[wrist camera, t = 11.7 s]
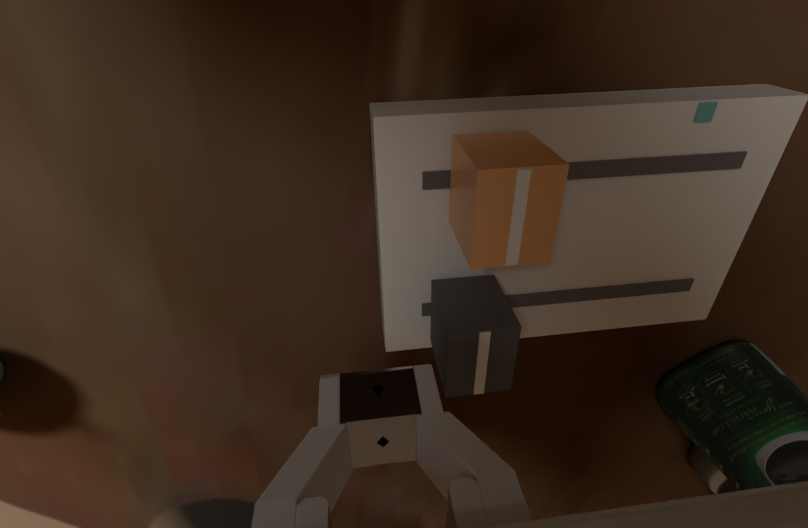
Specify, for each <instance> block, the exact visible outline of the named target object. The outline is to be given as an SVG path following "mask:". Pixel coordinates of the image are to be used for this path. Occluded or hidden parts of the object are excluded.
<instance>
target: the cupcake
mask: <svg viewBox="0 0 808 528" xmlns="http://www.w3.org/2000/svg"><path fill="white" fill-rule="evenodd" d="M3 372H4V369H3V365H2V363H1V361H0V382H1V379H2V376H3ZM0 420H1V412H0Z"/></svg>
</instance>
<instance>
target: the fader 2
mask: <svg viewBox="0 0 808 528" xmlns="http://www.w3.org/2000/svg"><path fill="white" fill-rule="evenodd" d="M521 327H522V326H521V325H520V323H519V321H518V319H517V317H516V315H515V313H514V311H513V309H512V308H511V306H510V304H509V302H508V300H507V298H506V296H505V294H504V292H503V290H502V289H501V287H500V285H499V283H498V281H497V279H496V277H495V275H494V274H493V275H482V276H471V277H459V278H448V279H436V280H431V329H430V341H431V345H432V348H433V352H434V356H435V360H436V364H437V368H438V372H439V376H440V380H441V384H442V388H443V392H444V395H445V398H447V397H456V396H465V395H473V394H474V395H476V394H484V393H491V392H500V391H509V390H511V387H512V381H513V375H514V369H515V363H516V357H517V351H518V345H519V339H520V333H521Z"/></svg>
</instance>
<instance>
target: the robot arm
mask: <svg viewBox="0 0 808 528" xmlns="http://www.w3.org/2000/svg"><path fill="white" fill-rule="evenodd" d="M415 460H417V463H418V464H419V466H420V467H421V468H422V469H423V471H424V472H425V473H426V474H427V476H428V477H429V478H430V479H431V480H432V482H433V483H434V484H435V485H436V487H437V488H438V489H439V490H440V492H441V493H442V494H443V495H444V497H445V498H446V499H447V511H446V525H445V528H808V481H803V482H796V483H789V484H782V485H775V486H768V487H761V488H754V489H747V490H740V491H733V492H726V493H719V494H712V495H705V496H698V497H691V498H684V499H677V500H670V501H663V502H656V503H649V504H642V505H635V506H628V507H621V508H614V509H607V510H600V511H593V512H586V513H579V514H572V515H565V516H558V517H551V518H544V519H537V520H532V519H531V516H530V513H529V510H528V507H527V505H526V502H525V499H524V496H523V493H522V491H521V488H520V485H519V482H518V479H517V477H516V474H515V471H514V469H513V468H511V467H510V466H509V465H508V464H507V463H506V462H505V461H504V460H502V459H501V458H500V457H499V456H498V455H497V454H496V453H495V452H494V451H492V450H491V449H490V448H489V447H488V446H487V445H486V444H485V443H484V442H482V441H481V440H480V439H479V438H478V437H477V436H476V435H475V434H473V433H472V432H471V431H470V430H469V429H468V428H467V427H466V426H465V425H463V424H462V423H461V422H460V421H459V420H458V419H457V418H456V417H455V416H453V415H452V414H451V413H450V412H443V408H442V404H441V400H440V396H439V392H438V388H437V384H436V379H435V375H434V371H433V367H432V365H431V364H425V365H416V366H407V367H398V368H390V369H381V370H376V371H363V372H351V373H340V374H330V375H321V378H320V387H319V408H318V427H312V428H311V429H310V431H309V432H308V433H307V435H306V436H305V437H304V439H303V440H302V441H301V443H300V444H299V445H298V447H297V448H296V449H295V451H294V452H293V453H292V455H291V456H290V457H289V459H288V460H287V461H286V463H285V464H284V465H283V467H282V468H281V469H280V471H279V472H278V473H277V475H276V476H275V477H274V479H273V480H272V481H271V483H270V484H269V485H268V487H267V488H266V490H265V491H264V492H263V494H262V495H261V496H260V498H259V499H258V500H257V502H256V503H255V509H254V515H253V521H252V527H251V528H333V523H332V518H331V511H332V509H333V507H334V505H335V503H336V501H337V500H338V498H339V496H340V494H341V492H342V490H343V488H344V486H345V484H346V482H347V480H348V478H349V476H350V474H351V473H352V471H353V470H352V468H358V467H365V466H371V465H378V464H384V462H385V463H394V462H404V461H415Z"/></svg>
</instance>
